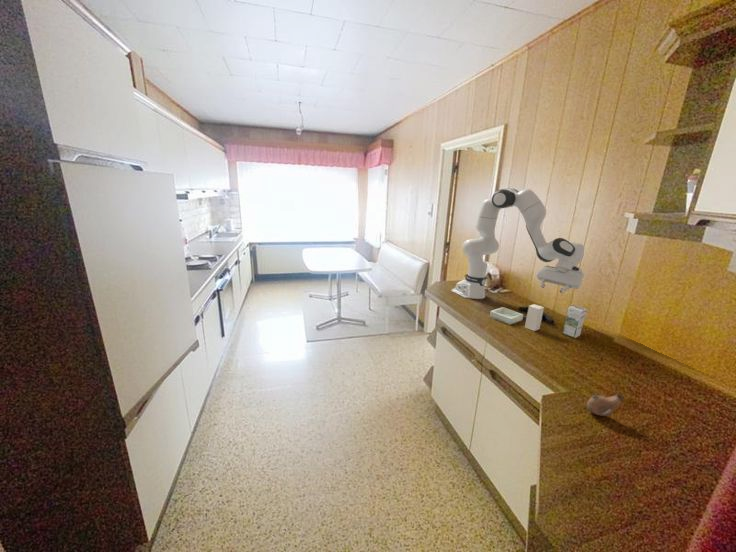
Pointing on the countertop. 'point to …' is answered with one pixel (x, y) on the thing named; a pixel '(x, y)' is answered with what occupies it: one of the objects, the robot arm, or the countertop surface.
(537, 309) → the cream block
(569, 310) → the syrup box
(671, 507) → the countertop surface
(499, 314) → the tray
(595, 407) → the oil lamp
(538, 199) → the robot arm
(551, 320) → the toy submachine gun
